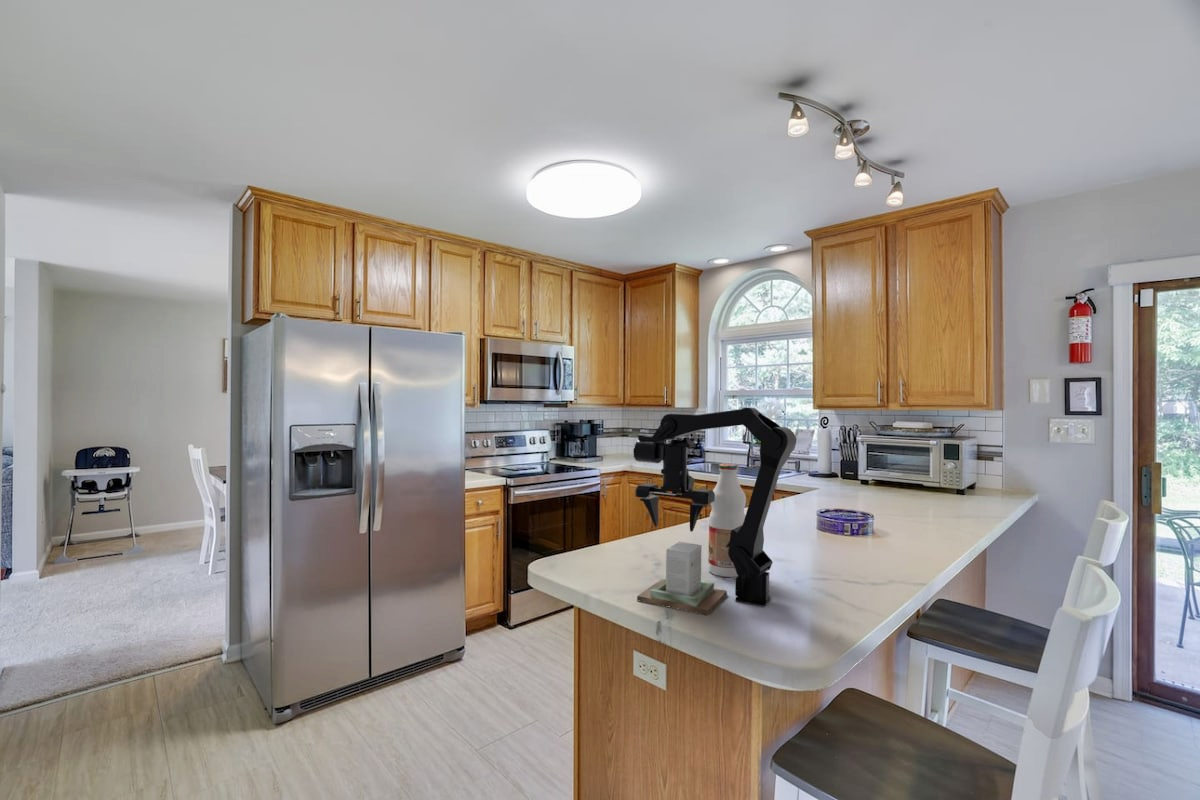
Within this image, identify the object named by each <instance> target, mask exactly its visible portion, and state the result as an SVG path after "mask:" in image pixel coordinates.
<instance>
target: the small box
mask: <svg viewBox="0 0 1200 800" xmlns="http://www.w3.org/2000/svg"><path fill="white" fill-rule="evenodd" d="M665 551H666V554H665V555H666V560H665V570H666V571H665V579H666V592H671V593H677V594H682V595H687V596H692V597H693V596H694V595H695V594H696V593H697V592H698V591H699V590H701V581H702V544H696V543H690V542H686V541H685V542H684V541H678V542H676V543H675V544H673V545H671V546H670V547H668V548H666V550H665Z"/></svg>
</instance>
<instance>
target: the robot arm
mask: <svg viewBox="0 0 1200 800" xmlns="http://www.w3.org/2000/svg"><path fill="white" fill-rule="evenodd" d="M660 420H661V421H660V424H659V427H658V428H657V429H656V431H655V432H654V433H653V435H652V436H651V435H646V434H645V435H644V434H640V435H638V436H637V437H638V438H637V440H636V442H635V444H634V448H633V457H634V459H635V461H636V462H639V463H651V464H659V463H661V462H662V461H663V462H662V463H663V464H662V468H661V469H660V474H662V485H660V487H659V485H658V484H657V483H648V482H647V483H646V482H645V483H642V484H638V485H637V486H636V487H635V495H634V496H635V498H639V501H641V502H643V504H644V506H645V508H646V509H647V511H648V514H649V516H650V518H651V521H652V523H653V525H654V527H655V528H657V527H658V526H659V502H660V501H659V500H660V497H667V498H668V497H670V498H677V499H688V500H691V501H692V502H693V503H690V504H689V531H690V532H691V533H692V532H694V529H695V528H696V524H697V521H698V519H699V516H700V514H701V512H702V510H703V508H704V507H707V506H709V504H710V505H711V503H712V502H714V501H715V494H714V492H713V489H710V488H709V489H708V488H707V489H706V488H697V489H696V488H695V489H694V487H695V478H694V477H693V476H691V475H690V474H689V473H690V471H689V468H688V467H687V465H688V462H687V461H688V460H687V459H688V448H695V447H696V443H695V442H694V441H692V440H691V438H690V437H689V436H688V435H693V434H695V433H697V432H700V431H703V430H709V429H718V428H729V427H737V426H744V427H745V428H746V429H747V430H748V431H749V433H750V434H752V436H753V437H754V438H756V440H758V441H759V442H760V444H759V460H760V466H759V469H758V473H757V475H756V476H757V477H756V480H755V483H754V485H753V489H752V493H751V495H750V500H749V502H748V503H749V504H748V506H747V510H746V513H745V519H744V523H743V525H742V526H739V527H737V528H735V529H733V530H731V534H730V541H729V543H728V544H727V545H726V547H729V549H728V556H729V557H730V560H731V561H732V562H733V563H734V566H735V569H736V573H737V575H738V576H737V577H735V596H736V597H735V600H734V601H735V602H738V603H739V602H740V603H745V604H748V605H754V606H759V607H766V605H767V604H768V603H769V602H770V600H771V599H772V595H770V572H768V571H770V569H771V568H772V566H773V563H774V561H773V560H772V559H771V557H770V556H769V555H767V553H766V551H765V550H764V541H765V536H764V535H765V534H764V526H765V523H766V520H767V516H768V513H769V509H770V506H771V502H772V500H773V496H774V494H775V489H776V486H777V483H778V479H779V477H780V474H781V470H782V468H783V467H784V465H785V464H786V463H787V461H788V459H789V458H790V457H791V454H792V452H793V450H794V448H795V447H796V444H797V436H796V435H795V433H794V431H793V430H792V429H790V428H788V427H785V426H780V425H779V424H778V423H777V422H775V421H774V420H772V419H770V418H769V417H767V416H766V415H764V414H763V413H762V412H761V411H759V410H758V409H757V408H755V407H742V408H739V409H731V410H725V411H716V412H710V413H702V414H701V413H699V414H696V413H695V414H694V413H667V414H665V415H663V417H662V418H661V419H660ZM679 437H684V438H682V439H676V438H679ZM665 441H669V442H665Z"/></svg>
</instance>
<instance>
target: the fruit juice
mask: <svg viewBox="0 0 1200 800" xmlns="http://www.w3.org/2000/svg"><path fill="white" fill-rule="evenodd" d="M718 470H719V476H718V479H717V482H716V484H715V487H714V488H713V489H712V490H713V492H714V494H715V501H714V502H712V503H710V505H711V511H710V513H709V519H708V559H707V560H708V563H707V564H708V571H709V572H710V573H711V575H716V576H718V577H723V578H724V577H725V578H736V577H737V576H738V575H737V573H736V569H735V566H734V563H733V562H732V561H731V560H730V557H729V556H728V549H729V547H726V545H727V544H728V543H729V541H730V534H731V530H733V529H735V528H737V527H739V526H742V525H743V523H744V519H745V516H746V513H745V507H746V505H747V504H746V503H747V496H746V493H745V491H744V490H743V489H742V487H741V485H740V482H739V478H738V472H739V465H738V464H734V463H720V464H718Z"/></svg>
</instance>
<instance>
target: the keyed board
mask: <svg viewBox="0 0 1200 800" xmlns="http://www.w3.org/2000/svg"><path fill="white" fill-rule="evenodd" d="M727 596H728V590H724V589H718V588H715V582H712V581H711V582H710V581H704V580H701V590H699V591H698V592H697V593H696V594H695V595H694V596H693V597H692V596H687V595H682V594H677V593H671V592H666V578H661V579H659V580H658V581H657V582H654V584H652V585H651V586H649V587H648V588H647V589H645V590H644V591H642V592H641V593H639V594H638V595H637V597H636V599H637V600H640V601H639V602H642V601H645V602H644V603H647V602H649V603H648V604H652V603H654V604H653V605H656V604H659V605H658V606H661V605H664V606H663V607H666V606H670V607H669V608H671V607H674V608H673V609H675V608H679V609H678V610H680V609H683V610H682V611H685V610H687V611H686V612H690V611H692V612H691V613H694V612H697V613H696V614H699V613H701V614H700V615H704V614H706V616H708V615H709V614H710V613H711V612H713V610H714V609H716V607H717V606H718V605H719V604H720V603H721V602H722V601H723V599H725V598H726V597H727Z"/></svg>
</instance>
